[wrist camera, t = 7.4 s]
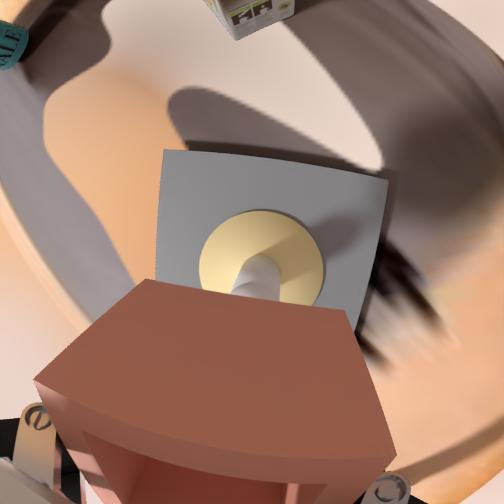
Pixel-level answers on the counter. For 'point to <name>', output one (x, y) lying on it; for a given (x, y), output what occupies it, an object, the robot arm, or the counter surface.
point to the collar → (218, 402)
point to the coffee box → (249, 14)
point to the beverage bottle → (11, 43)
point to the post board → (268, 228)
